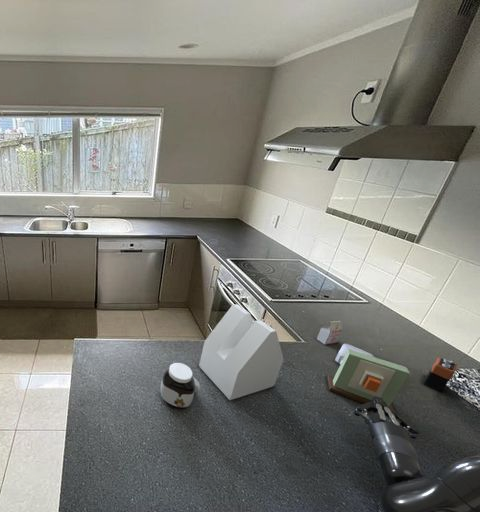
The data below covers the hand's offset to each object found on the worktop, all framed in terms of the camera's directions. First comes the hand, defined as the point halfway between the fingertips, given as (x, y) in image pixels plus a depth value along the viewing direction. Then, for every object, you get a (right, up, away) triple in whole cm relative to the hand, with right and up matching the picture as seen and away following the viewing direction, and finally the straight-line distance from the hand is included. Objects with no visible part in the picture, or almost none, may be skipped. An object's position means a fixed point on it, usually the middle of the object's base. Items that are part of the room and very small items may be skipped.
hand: (377, 399), depth 81 cm
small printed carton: (+17, +5, +39) cm, 43 cm away
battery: (+38, -4, +18) cm, 43 cm away
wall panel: (+6, -5, +12) cm, 14 cm away
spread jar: (-55, -4, +10) cm, 56 cm away
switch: (+4, 0, +6) cm, 7 cm away
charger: (+15, 0, +25) cm, 29 cm away
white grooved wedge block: (-33, -1, +18) cm, 37 cm away
